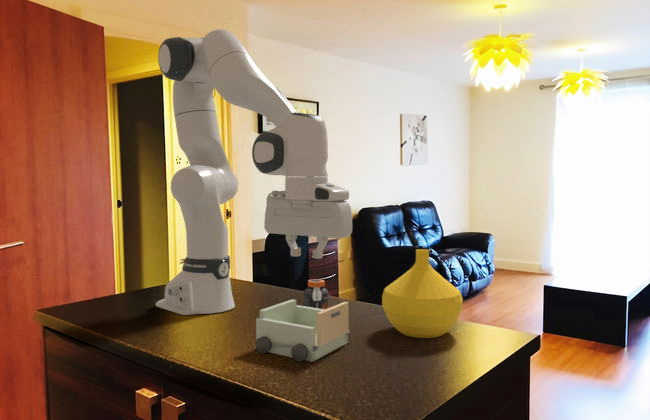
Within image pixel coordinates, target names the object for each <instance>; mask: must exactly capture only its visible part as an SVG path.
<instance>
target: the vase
mask: <svg viewBox="0 0 650 420" xmlns="http://www.w3.org/2000/svg"><path fill="white" fill-rule="evenodd" d="M381 300H382V301H381V305H382V308H383V311H384V313H385V315H386V318H387V320H389V322H390V324H391V325H392V327H394V329H395V330H396V331H398V332H399V333H400V334H402V335H403V336H406V337H412V338H417V339H418V338H419V339H432V338H434V339H435V338H438V337H441V336H444V334H446V333H448V332H449V331H450V330H451V329H452V328H453V327H454V325H455V324H456V323H457V322H458V319H459V317H460V316H461V313H462V310H463V308H464V306H463V304H464V303H463V302H464V299H463V295H462V293H461V290H460V289H458V288H457V287H456V286H454V285H453V284H452V283H451V282H449V281H448V280H447V279H446V278H444V277H443V276H442V275H441V273H439V272H438V271H436V270H435V269H434V268H433V267H432V265H431V264H430V250H429V249H424V248H423V249H422V248H421V249H415V262H414V264H413V265H412V266H411V268H410V269H408V270H407V271H406V272H405V273H403V274H402V275H401V276H399V277H398V278H396V280H394V281H393V282H391V283H390V284H389V285H387V286H386V287H385V288H384V289H383V292H382V296H381Z"/></svg>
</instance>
